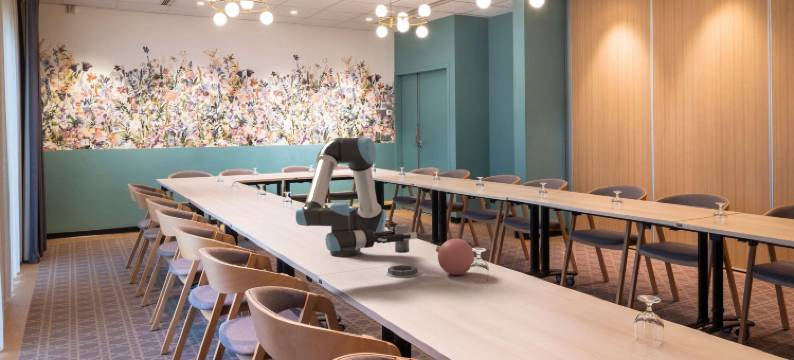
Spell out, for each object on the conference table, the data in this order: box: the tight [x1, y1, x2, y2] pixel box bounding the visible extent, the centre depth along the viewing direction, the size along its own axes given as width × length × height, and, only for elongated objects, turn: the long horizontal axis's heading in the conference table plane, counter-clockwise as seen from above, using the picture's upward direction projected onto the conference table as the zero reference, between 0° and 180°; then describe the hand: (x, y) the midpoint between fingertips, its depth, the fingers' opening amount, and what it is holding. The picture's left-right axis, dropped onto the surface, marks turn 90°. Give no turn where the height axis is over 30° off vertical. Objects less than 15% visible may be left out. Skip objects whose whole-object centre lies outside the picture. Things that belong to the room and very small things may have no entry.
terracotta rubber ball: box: [435, 238, 475, 276], centre depth 265 cm, size 15×20×15 cm
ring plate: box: [386, 264, 420, 279], centre depth 266 cm, size 14×14×2 cm
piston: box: [394, 223, 410, 254], centre depth 265 cm, size 6×6×11 cm
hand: (412, 234), depth 267 cm, fingers closed on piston, 6 cm apart
